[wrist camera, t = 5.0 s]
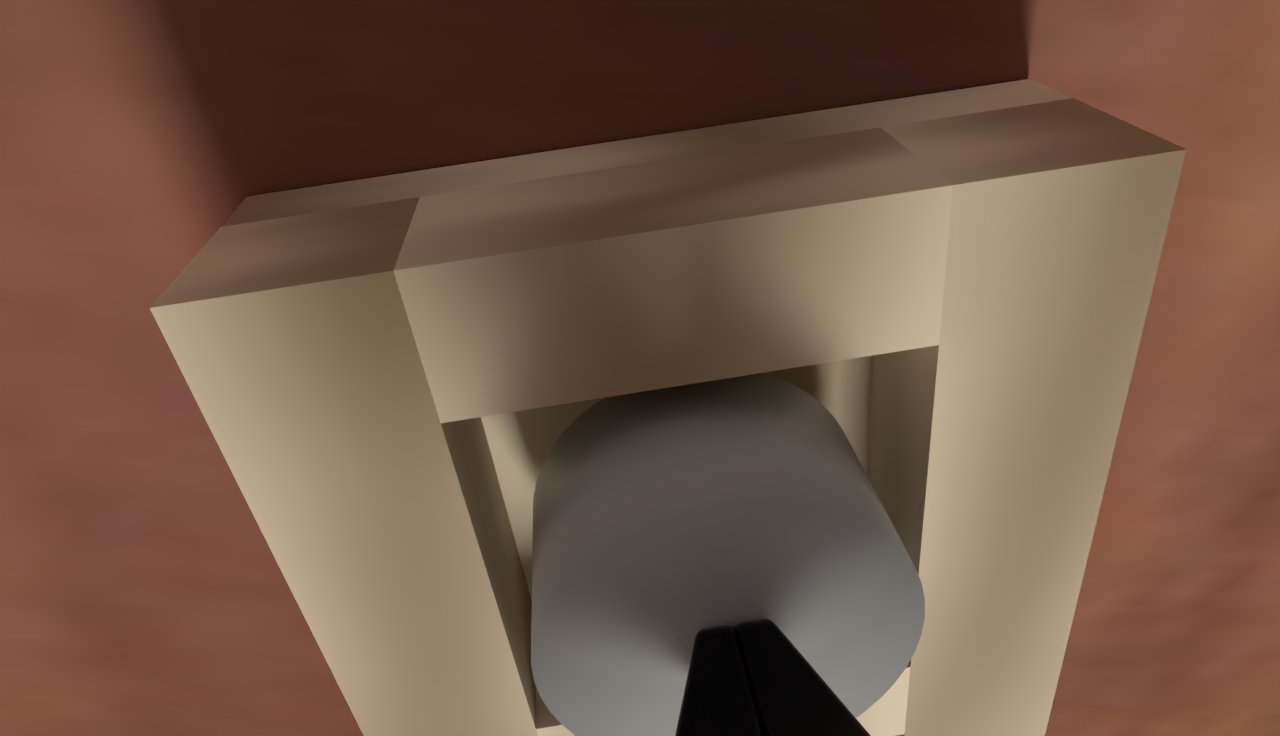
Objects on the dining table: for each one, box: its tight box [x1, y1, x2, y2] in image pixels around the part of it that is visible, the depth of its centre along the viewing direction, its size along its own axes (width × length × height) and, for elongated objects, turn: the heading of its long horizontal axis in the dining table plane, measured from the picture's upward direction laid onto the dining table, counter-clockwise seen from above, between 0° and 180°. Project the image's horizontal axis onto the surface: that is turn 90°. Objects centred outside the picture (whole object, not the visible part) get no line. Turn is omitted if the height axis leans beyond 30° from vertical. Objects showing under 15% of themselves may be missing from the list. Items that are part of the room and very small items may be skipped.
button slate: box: [531, 373, 925, 736], centre depth 10 cm, size 4×4×2 cm
